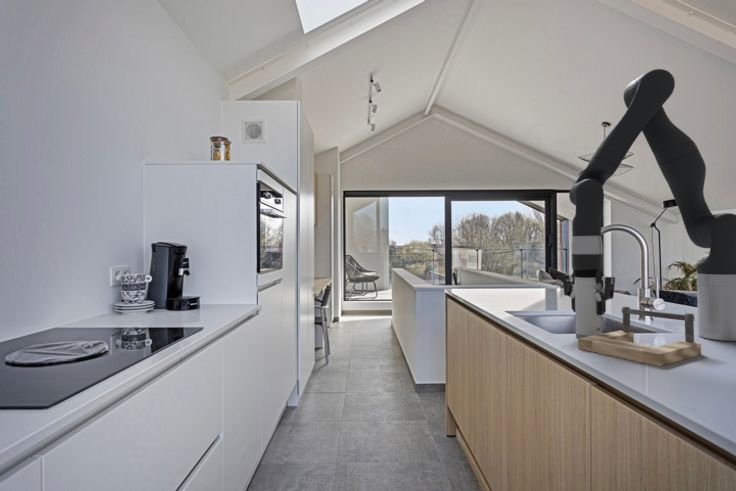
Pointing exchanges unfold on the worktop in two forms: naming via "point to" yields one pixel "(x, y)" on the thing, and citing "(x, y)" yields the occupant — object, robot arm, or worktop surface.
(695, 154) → the robot arm
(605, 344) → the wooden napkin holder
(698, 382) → the worktop surface
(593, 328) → the travel mug
